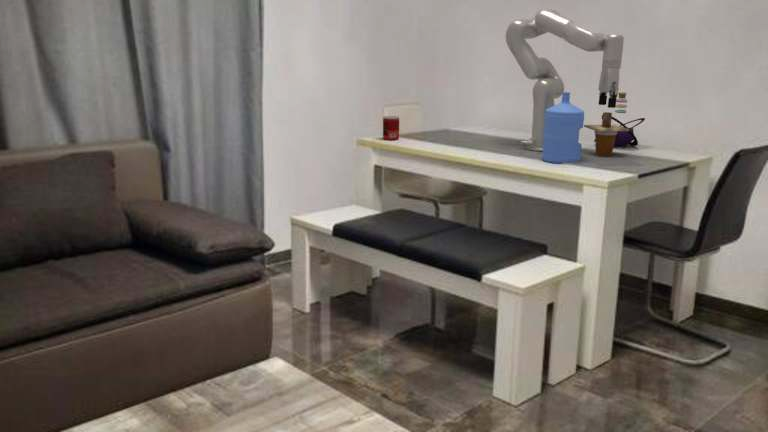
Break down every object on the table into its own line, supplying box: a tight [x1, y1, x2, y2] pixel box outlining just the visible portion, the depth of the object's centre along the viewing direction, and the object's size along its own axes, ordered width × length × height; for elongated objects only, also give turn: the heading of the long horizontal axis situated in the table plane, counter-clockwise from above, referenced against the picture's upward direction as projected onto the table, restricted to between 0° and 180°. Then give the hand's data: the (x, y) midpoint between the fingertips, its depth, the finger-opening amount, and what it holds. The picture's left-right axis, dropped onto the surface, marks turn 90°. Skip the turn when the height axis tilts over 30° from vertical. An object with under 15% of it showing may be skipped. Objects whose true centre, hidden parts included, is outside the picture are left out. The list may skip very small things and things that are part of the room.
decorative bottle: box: [593, 91, 646, 148], centre depth 336 cm, size 22×21×25 cm
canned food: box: [382, 115, 400, 142], centre depth 351 cm, size 8×8×11 cm
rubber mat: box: [586, 157, 645, 167], centre depth 293 cm, size 18×16×1 cm
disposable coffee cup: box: [593, 130, 618, 157], centre depth 310 cm, size 10×10×12 cm
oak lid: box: [583, 111, 629, 131], centre depth 307 cm, size 14×14×7 cm
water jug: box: [541, 91, 585, 165], centre depth 297 cm, size 16×16×28 cm
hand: (606, 106), depth 306 cm, fingers open, 9 cm apart
